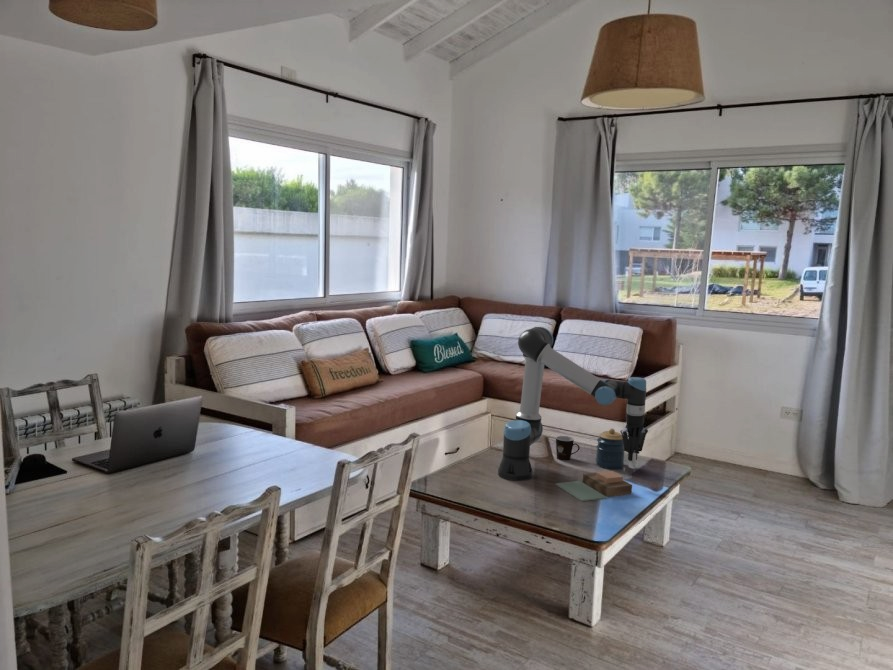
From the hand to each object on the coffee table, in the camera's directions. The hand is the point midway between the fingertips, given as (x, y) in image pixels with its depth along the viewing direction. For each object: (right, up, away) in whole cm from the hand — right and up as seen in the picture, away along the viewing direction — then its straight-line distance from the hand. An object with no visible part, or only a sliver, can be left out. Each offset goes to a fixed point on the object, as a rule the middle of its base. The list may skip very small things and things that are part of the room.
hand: (632, 467), depth 295 cm
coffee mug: (-23, -3, +34) cm, 41 cm away
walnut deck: (-12, -8, -3) cm, 15 cm away
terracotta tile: (-11, -4, -4) cm, 12 cm away
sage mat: (-24, -8, -8) cm, 26 cm away
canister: (-3, -4, +28) cm, 29 cm away
